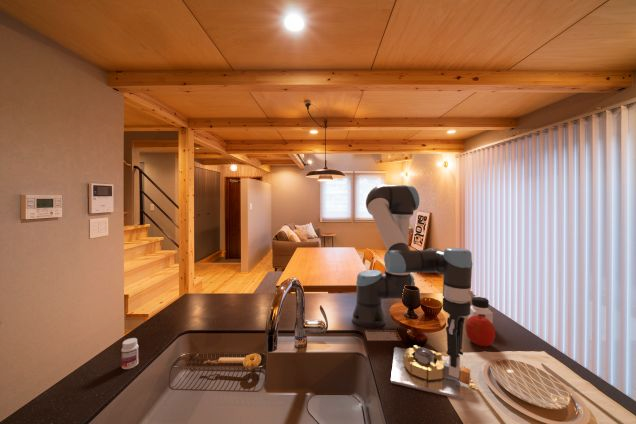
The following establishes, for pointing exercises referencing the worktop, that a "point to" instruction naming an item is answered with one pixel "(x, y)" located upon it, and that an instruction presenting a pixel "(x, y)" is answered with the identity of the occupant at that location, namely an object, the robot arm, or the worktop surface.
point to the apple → (480, 330)
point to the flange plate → (438, 386)
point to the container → (480, 308)
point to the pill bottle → (130, 353)
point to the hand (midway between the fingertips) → (454, 375)
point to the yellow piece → (432, 367)
